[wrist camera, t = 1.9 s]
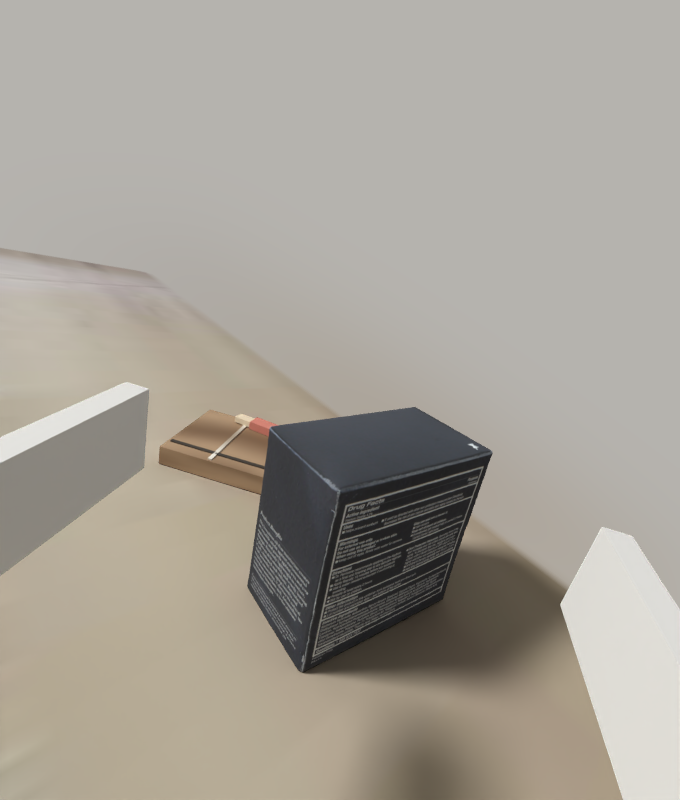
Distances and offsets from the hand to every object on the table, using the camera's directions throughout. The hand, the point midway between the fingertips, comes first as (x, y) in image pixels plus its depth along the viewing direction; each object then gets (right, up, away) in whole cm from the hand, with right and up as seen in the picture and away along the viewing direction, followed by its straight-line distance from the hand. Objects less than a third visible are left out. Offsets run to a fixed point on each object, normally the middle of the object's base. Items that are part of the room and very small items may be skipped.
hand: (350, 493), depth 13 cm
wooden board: (-5, -3, +24) cm, 25 cm away
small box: (0, -9, +14) cm, 16 cm away
